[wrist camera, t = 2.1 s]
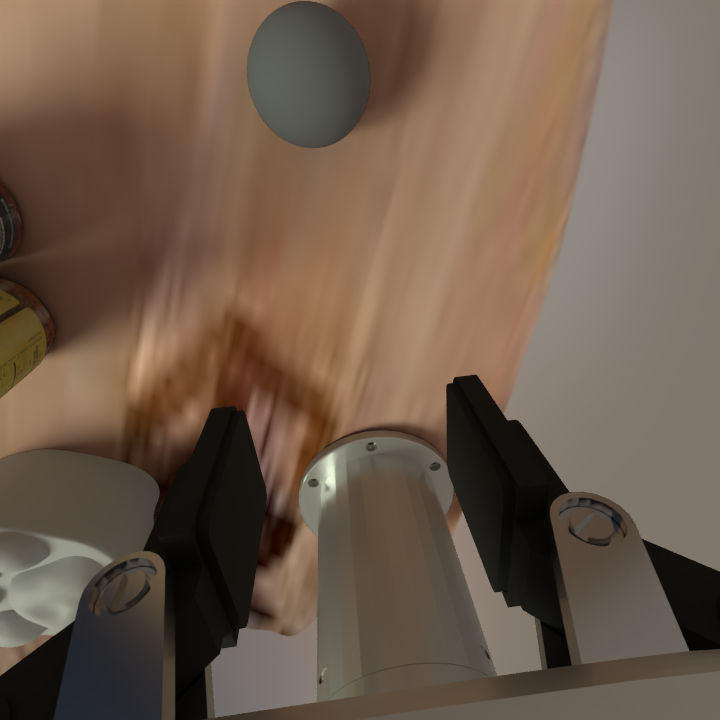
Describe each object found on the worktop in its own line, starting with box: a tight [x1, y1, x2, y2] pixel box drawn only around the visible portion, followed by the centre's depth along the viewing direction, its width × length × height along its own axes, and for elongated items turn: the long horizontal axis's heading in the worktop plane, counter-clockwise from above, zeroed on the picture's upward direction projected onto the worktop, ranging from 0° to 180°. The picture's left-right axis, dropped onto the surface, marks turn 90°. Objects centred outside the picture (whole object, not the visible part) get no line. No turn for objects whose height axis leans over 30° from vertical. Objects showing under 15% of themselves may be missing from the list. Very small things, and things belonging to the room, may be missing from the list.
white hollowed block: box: [0, 449, 159, 647], centre depth 30 cm, size 10×13×9 cm
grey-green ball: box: [247, 1, 370, 148], centre depth 20 cm, size 6×6×6 cm
